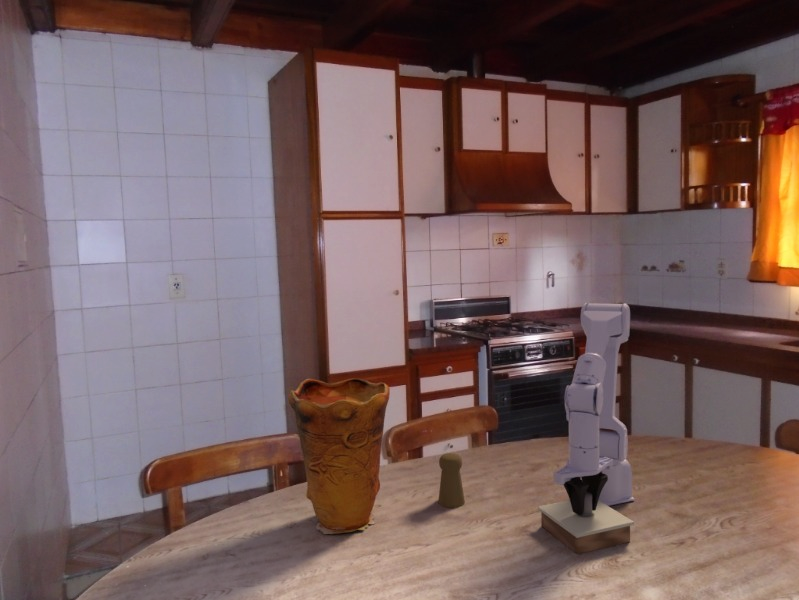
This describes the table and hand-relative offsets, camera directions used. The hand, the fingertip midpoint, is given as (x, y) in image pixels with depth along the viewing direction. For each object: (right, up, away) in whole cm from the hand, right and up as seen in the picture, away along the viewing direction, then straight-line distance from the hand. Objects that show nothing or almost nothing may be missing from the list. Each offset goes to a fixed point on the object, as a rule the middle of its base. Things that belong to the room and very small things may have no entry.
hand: (584, 510), depth 118 cm
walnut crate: (0, -5, 0) cm, 5 cm away
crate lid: (0, -1, 0) cm, 1 cm away
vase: (-48, -6, +8) cm, 49 cm away
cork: (-25, -4, +17) cm, 30 cm away
